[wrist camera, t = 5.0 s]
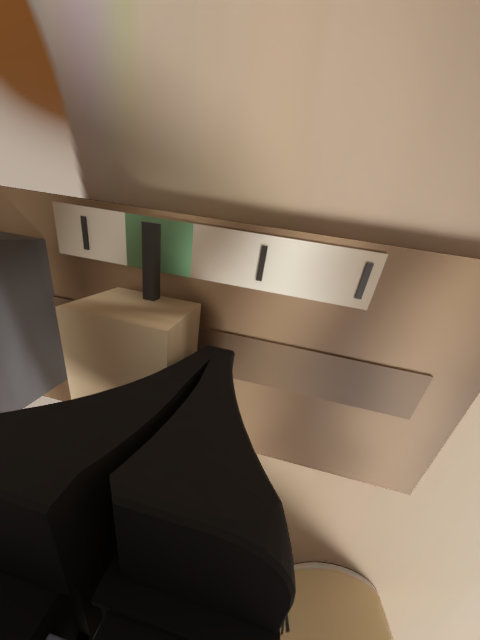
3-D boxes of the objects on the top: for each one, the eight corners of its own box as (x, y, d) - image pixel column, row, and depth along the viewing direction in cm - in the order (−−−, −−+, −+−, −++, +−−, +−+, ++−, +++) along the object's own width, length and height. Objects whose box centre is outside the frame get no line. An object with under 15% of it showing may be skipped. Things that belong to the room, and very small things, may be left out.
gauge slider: (207, 231, 9) (170, 228, 6) (193, 393, 12) (164, 444, 9) (114, 216, 9) (37, 206, 6) (123, 376, 12) (74, 419, 9)
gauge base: (531, 267, 8) (829, 305, 4) (400, 476, 13) (466, 609, 8) (-8, 185, 11) (-212, 149, 7) (38, 381, 16) (-64, 441, 11)
